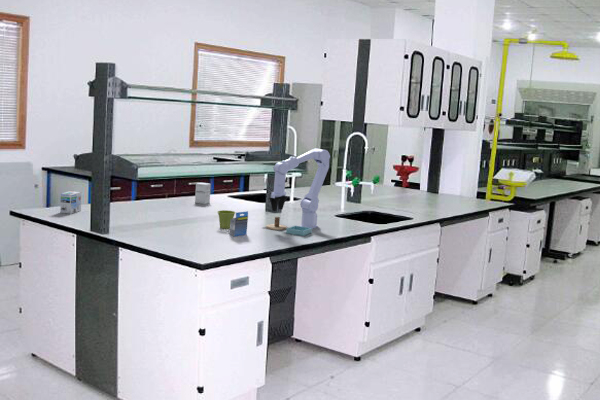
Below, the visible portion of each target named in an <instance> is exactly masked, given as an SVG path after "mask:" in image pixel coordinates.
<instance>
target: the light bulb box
mask: <svg viewBox="0 0 600 400" xmlns="http://www.w3.org/2000/svg"><path fill="white" fill-rule="evenodd" d="M59 207H60V209H59V210H60V211H59V212H60V213H62V214H68V215H69V214H71V215H72V214H74V213H75V214H76V213H79V212H81V211H82V192H80V191H74V190H70V191H65V192H60V206H59ZM78 211H79V212H78Z"/></svg>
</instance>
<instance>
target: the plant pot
mask: <svg viewBox="0 0 600 400" xmlns="http://www.w3.org/2000/svg"><path fill="white" fill-rule="evenodd" d="M217 214H218V215H217V216H218V221H219V228H220V229H224V230H230V221H231V219H233V218H235V215H236V212H235V211H234V210H229V209H228V210H225V209H224V210H223V209H222V210H217Z"/></svg>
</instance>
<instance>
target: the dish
mask: <svg viewBox="0 0 600 400" xmlns="http://www.w3.org/2000/svg"><path fill="white" fill-rule="evenodd" d="M312 231H313V229H312V228H307V227H301V225H293V226H289V227H288V228H286V230H285V233H286V234H287V235H293V236H300V237H306V236H310V235H311V234H312Z"/></svg>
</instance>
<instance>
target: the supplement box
mask: <svg viewBox="0 0 600 400" xmlns="http://www.w3.org/2000/svg"><path fill="white" fill-rule="evenodd" d="M211 185H212V184H211V183H208V182H197V183H196V182H195V194H194V195H195V197H194V203H196V204H202V205H207V204H209V203H210V202H211Z"/></svg>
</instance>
